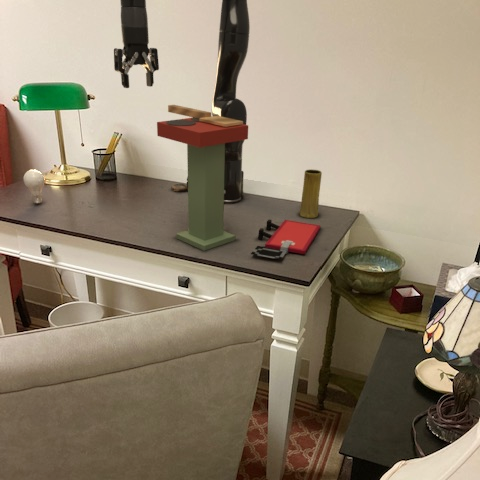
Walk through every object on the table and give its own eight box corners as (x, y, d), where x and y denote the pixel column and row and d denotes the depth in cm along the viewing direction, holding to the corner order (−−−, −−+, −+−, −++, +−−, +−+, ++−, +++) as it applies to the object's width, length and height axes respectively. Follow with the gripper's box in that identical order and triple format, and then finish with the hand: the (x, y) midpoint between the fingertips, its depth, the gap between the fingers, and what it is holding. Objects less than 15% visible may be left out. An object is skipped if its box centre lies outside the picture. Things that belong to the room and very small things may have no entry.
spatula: (162, 112, 149) (161, 105, 148) (179, 110, 153) (179, 104, 152) (225, 127, 133) (225, 119, 132) (243, 124, 137) (243, 117, 136)
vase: (320, 214, 173) (325, 170, 166) (314, 219, 168) (319, 175, 161) (302, 211, 175) (307, 168, 168) (296, 216, 170) (300, 172, 163)
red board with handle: (243, 256, 140) (298, 266, 136) (244, 246, 138) (299, 256, 135) (273, 222, 165) (319, 229, 161) (273, 213, 163) (321, 221, 160)
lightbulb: (41, 207, 169) (36, 173, 163) (23, 205, 170) (17, 171, 164) (51, 201, 174) (46, 168, 169) (34, 199, 175) (28, 166, 170)
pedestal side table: (161, 233, 153) (156, 121, 137) (205, 221, 163) (205, 115, 148) (201, 251, 142) (201, 132, 126) (245, 236, 153) (249, 124, 137)
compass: (174, 186, 194) (173, 166, 190) (194, 188, 193) (194, 168, 189) (167, 192, 187) (166, 172, 184) (188, 194, 186) (188, 174, 182)
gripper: (121, 25, 143) (125, 90, 151) (162, 26, 152) (164, 87, 160) (105, 24, 147) (111, 87, 155) (147, 25, 156) (149, 84, 164)
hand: (138, 87), depth 158 cm, fingers open, 8 cm apart
